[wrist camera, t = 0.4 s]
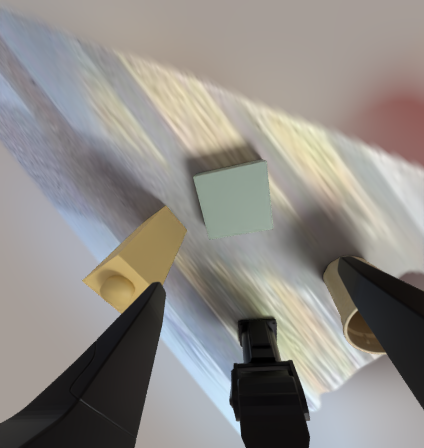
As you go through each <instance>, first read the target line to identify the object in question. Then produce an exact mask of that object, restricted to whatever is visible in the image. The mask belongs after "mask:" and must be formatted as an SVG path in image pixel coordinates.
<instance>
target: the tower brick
mask: <svg viewBox="0 0 424 448" xmlns="http://www.w3.org/2000/svg"><path fill="white" fill-rule="evenodd" d="M186 232H187V230H186V228H185V227H184V226H183V225H182V224H181V222H180V221H179V220H178V219H177V218H176V217H175V215H174V214H173V213H172V212H171V211H170V210H169V208H168V207H167V206H164V207H163V208H162V209H160V210H159V211H158V212H157V213H155V214H154V215H153V216H151V217H150V218H149V219H147V220H146V221H145V222H143V223H142V224H141V225H140V226H139V227H138V228H137V229H136V230H135V231H134V232H133V233H132V234H131V235H130V236H129V237H128V238H126V239H125V240H124V241H123V242H122V243H121V244H120V245H119V246H118V247H117V248H116V249H115V250H114V251H113V252H112V253H111V254H110V255H109V256H108V257H107V258H105V259H104V260H103V261H102V262H101V263H100V264H99V265H98V266H97V267H96V268H95V269H94V270H93V271H92V272H91V273H90V274H89V275H88V276H87V277H86V278H85V279H83V280H82V281H83V282H84V283H85V284H86V285H88V286H89V287H90V288H91V289H92V290H94V291H95V292H96V293H97V294H98V295H100V296H101V297H102V298H103V299H104V300H105V301H106V302H108V303H109V304H110V305H111V306H113V307H114V308H115V309H116V310H117V311H119V312H120V313H121V314H122V313H123V312H124V311H125V310H126V309H127V308H128V307H129V306H130V305H131V304H132V303H133V302H134V301H135V300H136V299H137V298H138V297H139V295H140V294H141V293H142V292H143V291H144V290H145V289H146V288H147V287H148V286H149V285H150V284H151V283H153V282H161V284H162V286H163V283H164V281H165V279H166V277H167V274H168V272H169V270H170V268H171V265H172V263H173V261H174V259H175V256H176V254H177V252H178V250H179V247H180V245H181V243H182V241H183V238H184V236H185V234H186Z"/></svg>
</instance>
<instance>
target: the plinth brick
mask: <svg viewBox="0 0 424 448" xmlns="http://www.w3.org/2000/svg"><path fill="white" fill-rule="evenodd" d="M193 178H194V182H195V186H196V190H197V194H198V198H199V202H200V206H201V210H202V213H203V217H204V221H205V225H206V229H207V233H208V237H209V240H211V239H217V238H223V237H229V236H235V235H241V234H247V233H253V232H259V231H265V230H271V229H273V219H272V210H271V200H270V190H269V181H268V171H267V161H265V160H263V159H261V160H256V161H252V162H247V163H243V164H238V165H234V166H229V167H225V168H220V169H216V170H211V171H207V172H202V173H198V174H196V175H195V176H194V177H193Z"/></svg>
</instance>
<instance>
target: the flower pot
mask: <svg viewBox="0 0 424 448" xmlns="http://www.w3.org/2000/svg"><path fill="white" fill-rule="evenodd" d="M352 257H354V256H352ZM354 258H356V259H358V260H360V261H363V262H365V263H367V264H369V265H371V266H373V267H375V266H374V265H372V264H370V263H369V262H367V261H366V260H364V259H362V258H359V257H354ZM338 262H339V259H336V260H335V261H333V262H331V263H330V264H329V265H328V267H327V269H326V271H325V273H324V274H323V279H324V282H325V284H326V286H327V288H328V290H329V292H330V294H331V296H332V299H333V301H334V303H335V305H336V307H337V309H338V312H339V314H340V316H341V322H342V325H343V333H344V336H345V338H346V340H347V341H348V343H349V344H350V345H352V346H353V347H354V348H356V349H359V350H361V351H363V352H366V353H371V354H387V353H386V352H385V350H384V349H383V347H382V346H381V344H380V343H379V341H378V340H377V338H376V337H375V335H374V334H373V332H372V331H371V329H370V328H369V326H368V325H367V323H366V322H365V320H364V319H363V317H362V316H361V314H360V313H359V311H358V310H357V308H356V306H355V305H354V303H353V301H352V299H351V297H350V295H349V294H348V292H347V290H346V288H345V286H344V284H343V282H342V280H341V278H340V276H339V274H338V271H337V268H338ZM375 268H377V267H375ZM377 269H378V268H377ZM379 270H380V269H379ZM381 271H382V270H381ZM422 291H423V290H422Z"/></svg>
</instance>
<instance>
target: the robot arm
mask: <svg viewBox="0 0 424 448" xmlns="http://www.w3.org/2000/svg"><path fill="white" fill-rule="evenodd" d="M337 271H338V274H339V276H340V278H341V280H342V282H343V284H344V286H345V288H346V290H347V292H348V294H349V295H350V297H351V299H352V301H353V303H354V305H355V306H356V308H357V310H358V311H359V313H360V314H361V316H362V317H363V319H364V320H365V322H366V323H367V325H368V326H369V328H370V329H371V331H372V332H373V334H374V335H375V337H376V338H377V340H378V341H379V343H380V344H381V346H382V347H383V349H384V350H385V352H386V353H387V355H388V356H389V358H390V360H391V361H392V363H393V364H394V365H395V367H396V369H397V370H398V372H399V373H400V375H401V376H402V378H403V379H404V381H405V382H406V384H407V385H408V387H409V388H410V390H411V391H412V393H413V394H414V396H415V397H416V399H417V400H418V402H419V403H420V405H421V407H422V408H423V409H424V291H422V290H420V289H418V288H416V287H414V286H412V285H410V284H408V283H405V282H404V281H402V280H400V279H398V278H396V277H394V276H391V275H389V274H387V273H385V272H383V271H381V270H379V269H377V268H375V267H373V266H371V265H369V264H367V263H365V262H363V261H360V260H358V259H356V258H354V257H352V256H341V257H340V258H339V262H338V268H337ZM165 299H166V292H165V290H164V288H163V286H162V284H161V282H153V283H151V284H150V285H149V286H148V287H147V288H146V289H145V290H144V291H143V292H142V293H141V294H140V295H139V297H138V298H137V299H136V300H135V301H134V302H133V303H132V304H131V305H130V306H129V307H128V308H127V309H126V310H125V311H124V312H123V313H122V314H121V315H120V316H119V317H118V318H117V319H116V320H115V321H114V322H113V323H112V324H111V325H110V327H108V329H106V331H105V332H104V333H103V334H102V335H101V336H100V337H99V338H98V339H97V341H95V342H94V343H93V344H92V345H91V346H90V347H89V348H88V349H87V350H86V351H85V352H84V353H83V354H82V355H81V356H80V357H79V358H78V359H77V360H76V361H75V362H74V363H73V364H72V365H71V366H70V367H69V368H68V369H67V370H66V371H64V372H63V373H62V374H61V375H60V376H59V377H58V378H57V379H56V380H55V381H54V382H52V384H50V385H49V386H48V387H47V388H46V389H45V390H44V391H43V392H42V393H41V394H39V395H38V396H37V397H36V398H35V399H34V400H33V401H32V402H31V403H30V404H29V405H27V406H26V407H25V408H24V409H23V410H21V411H20V412H19V413H17V414H15V415H14V416H12V417H11V418H9V419H8V420H6V421H4V422H2V423H0V448H134V447H135V443H136V438H137V434H138V429H139V425H140V420H141V416H142V411H143V407H144V403H145V398H146V394H147V389H148V385H149V381H150V376H151V372H152V367H153V363H154V358H155V354H156V350H157V346H158V341H159V337H160V332H161V328H162V323H163V315H164V307H165ZM238 328H239V338H240V346H241V347H243V360H244V363H241V364H237V363H234V369H233V370H232V371H231V391H230V399H229V401H230V405H231V406H232V408H233V410H234V413H235V418H236V421H240V428H241V437H242V440H243V442H244V444H245V447H246V448H309V441H310V436H309V431H308V427H307V423H306V421H309V420H310V416H309V410H308V406H307V402H306V398H305V395H304V391H303V388H302V385H301V383H300V380H299V377H298V375H297V372H296V369H295V366H294V364H293V361H292V360H288V361H281V358H280V354H279V350H278V346H277V322H276V320H275V319H261V320H239V321H238Z"/></svg>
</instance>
